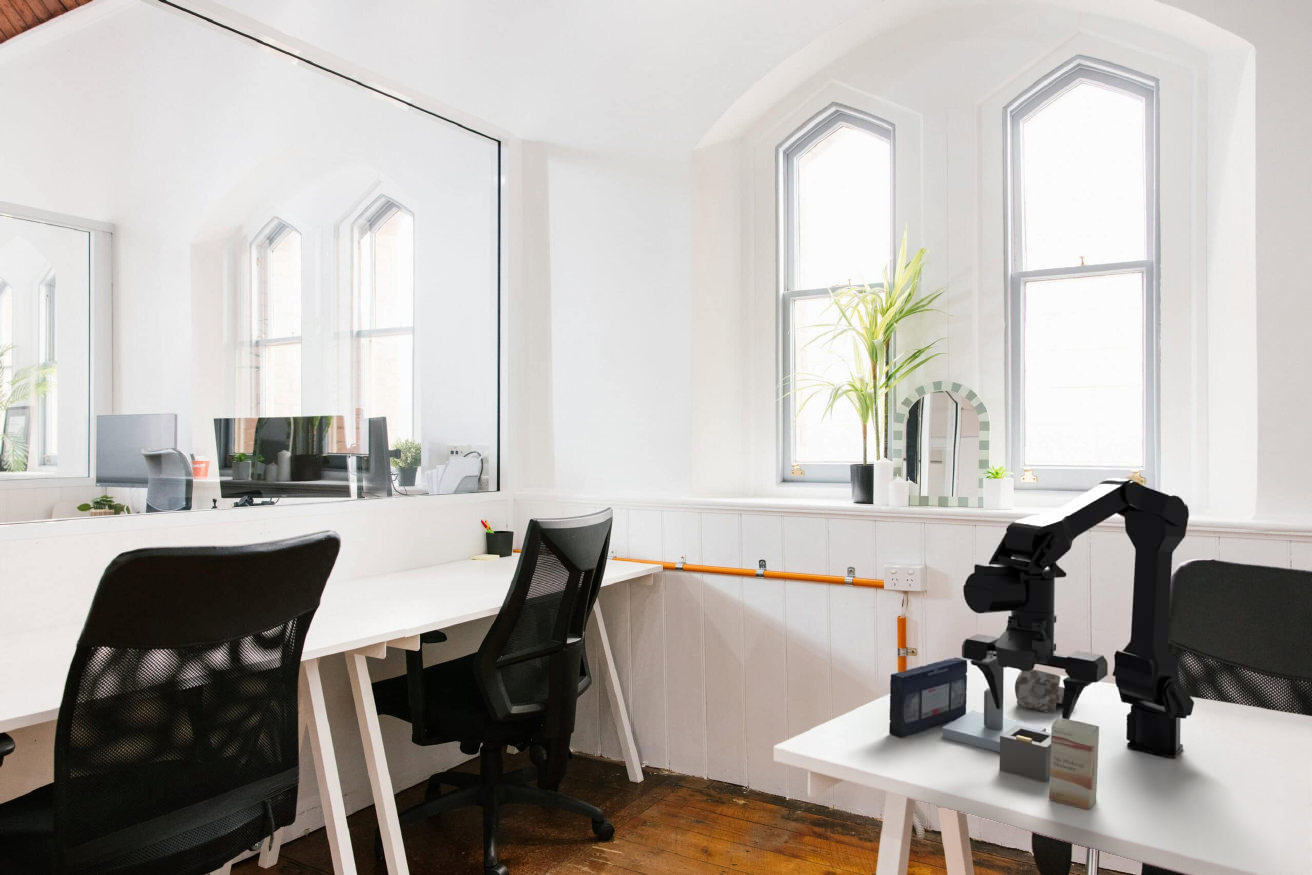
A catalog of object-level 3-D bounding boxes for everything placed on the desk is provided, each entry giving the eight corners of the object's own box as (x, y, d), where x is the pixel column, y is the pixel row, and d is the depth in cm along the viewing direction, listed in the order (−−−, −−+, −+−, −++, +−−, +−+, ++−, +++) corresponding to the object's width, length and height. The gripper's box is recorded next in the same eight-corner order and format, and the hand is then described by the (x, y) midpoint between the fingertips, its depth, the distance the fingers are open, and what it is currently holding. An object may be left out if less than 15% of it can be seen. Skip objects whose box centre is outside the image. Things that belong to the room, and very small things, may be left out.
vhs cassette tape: (901, 739, 134) (902, 677, 134) (886, 733, 136) (887, 672, 136) (969, 718, 144) (970, 660, 144) (954, 713, 147) (955, 656, 147)
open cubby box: (1060, 769, 122) (1061, 732, 122) (1045, 782, 117) (1046, 744, 117) (1015, 757, 126) (1016, 722, 126) (999, 769, 121) (999, 732, 121)
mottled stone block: (1057, 711, 157) (1082, 721, 147) (997, 696, 158) (1017, 704, 148) (1063, 675, 158) (1088, 682, 148) (1003, 660, 158) (1024, 666, 149)
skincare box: (1047, 800, 111) (1048, 724, 111) (1056, 789, 115) (1057, 716, 115) (1090, 811, 108) (1091, 733, 108) (1098, 800, 112) (1099, 725, 112)
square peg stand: (1045, 736, 135) (1046, 690, 135) (1018, 756, 127) (1019, 707, 127) (972, 719, 144) (972, 675, 144) (942, 736, 135) (942, 690, 135)
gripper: (946, 607, 122) (945, 714, 122) (1085, 628, 109) (1083, 747, 109) (977, 596, 130) (976, 697, 130) (1109, 615, 118) (1108, 726, 118)
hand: (1031, 715), depth 122 cm, fingers open, 9 cm apart
